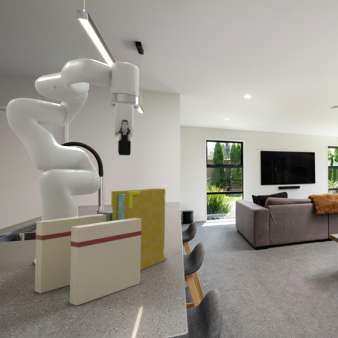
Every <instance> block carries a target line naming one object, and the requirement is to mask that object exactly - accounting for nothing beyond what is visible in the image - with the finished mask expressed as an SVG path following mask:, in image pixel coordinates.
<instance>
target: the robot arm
mask: <svg viewBox="0 0 338 338" xmlns="http://www.w3.org/2000/svg"><path fill="white" fill-rule="evenodd" d="M90 85H94V86H97V87H101V88H104V89H107V90H110V92H111V93H110V94H111V95H110V105H111V107H114V114H113V115H114V117H113V120H114V121H113V135H114V137H116V138H117V137H118V136H119V137H118V141H117V153H118V156H131V153H132V141H131V138H133V134H134V129H135V111H136V110H137V109H139V108H140V68H139V67H138V66H137V65H135V64H134V63H131V62H126V61H115V62H113V63H112V64H111V65H109V64H107V63H104V62H101V61H99V60H95V59H92V58H87V57H82V58H76V59H71V60H68V61H67V62H66V63H64V65H63V66H62V69H61V71H59V72H53V73H50V74H49V73H48V74H44V75H41V76H40V77H38V78H37V79H35V82H34V88H35V90H36V92H37V93H38V94H39V95H41V96H42V97H45V98H46V99H50V100H55V101H58V102H60V103H55V102H51V101H46V100H41V99H36V98H31V97H30V98H29V97H18V98H13V99H11V100H10V101H8V103H7V105H6V109H5V115H6V120H7V123H8V125H9V127H10V129H11V130H12V131H13V133H14V134H15V135H16V136H17V137H18V139H19V140H20V142H21V143H22V145H23V147H24V148H25V151H26V153H27V155H28V156H29V158H30V160H31V162H32V164H33V165H34V167H35V168H36V169H37V170H39V171H42V172H41V174H40V175H39V177H38V179H37V186H38V189H39V195H40V200H41V221H44V220H53V219H61V218H70V217H79V207H78V204H77V203H76V201H75V200H74V198H73V197H74V196H87V195H92V194H95V193H97V192H98V191H99V190H100V188H101V185H102V181H101V176H100V175H99V172H98V170H97V168H96V167H95V165H94V163H93V162H92V159H91V158H90V156H89V155H88V153H87V152H86V151H84V150H83V149H82V148H79V147H76V146H67V145H65V146H64V145H61V144H59V143H58V142H57V140H56V139H55V137H54V135H53V134H52V133H51V132H50V131H49V130H48V129H46V128H45V127H44V126H42V125H46V126H47V125H48V126H55V127H65V126H68V125H70V124H71V123H72V122H73V121H74V120H75V118H76V116H77V115H78V113H79V112H80V111H81V109H82V108H83V107H84V105H85V103H86V102H87V99H88V97H89V91H90ZM35 261H36V258H35V259H34V260H33V264H35Z"/></svg>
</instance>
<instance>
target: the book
mask: <svg viewBox="0 0 338 338" xmlns="http://www.w3.org/2000/svg"><path fill="white" fill-rule="evenodd" d="M110 192H111V193H110V194H111V195H110V196H111V197H110V199H111V200H110V205H111V206H110V208H112V209H111V210H112V221H116V220H123V219H130V218H140V219H141V263H140V271H141V270H144V269H146V268H149V267H151V266H154V265H156V264H159V263H162V262H164V261H165V240H166V239H165V236H166V235H165V233H166V231H165V229H166V188H142V189H127V190H112V191H110Z"/></svg>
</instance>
